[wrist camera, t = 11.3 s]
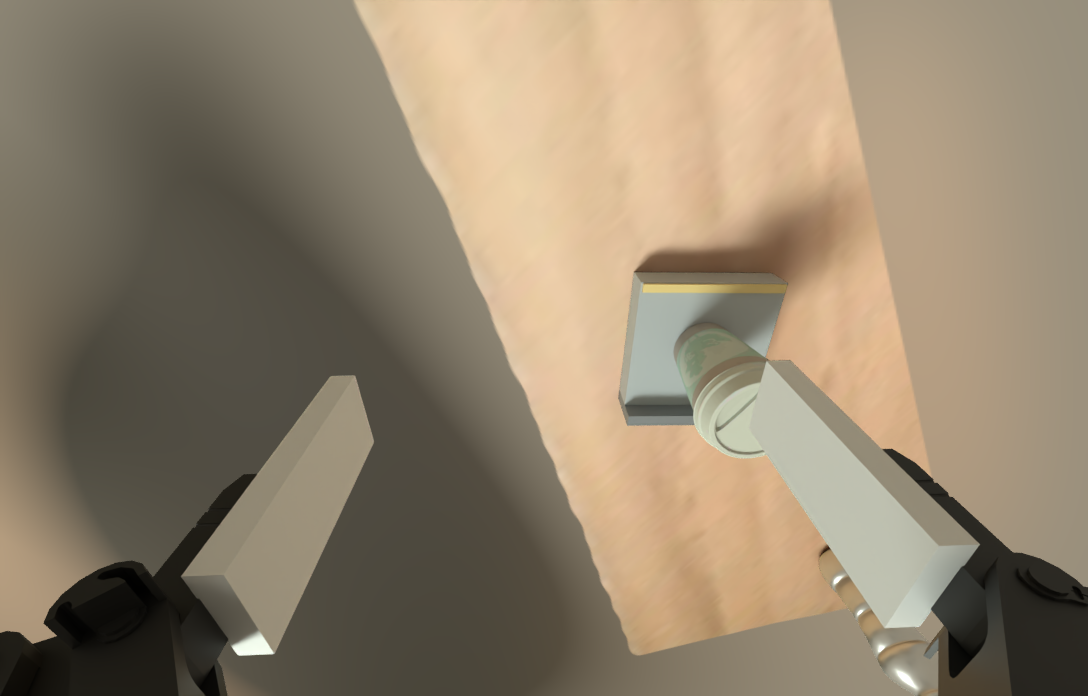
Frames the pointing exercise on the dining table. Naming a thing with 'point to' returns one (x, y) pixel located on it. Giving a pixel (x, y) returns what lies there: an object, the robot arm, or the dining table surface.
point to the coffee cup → (721, 386)
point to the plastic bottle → (885, 636)
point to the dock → (673, 308)
